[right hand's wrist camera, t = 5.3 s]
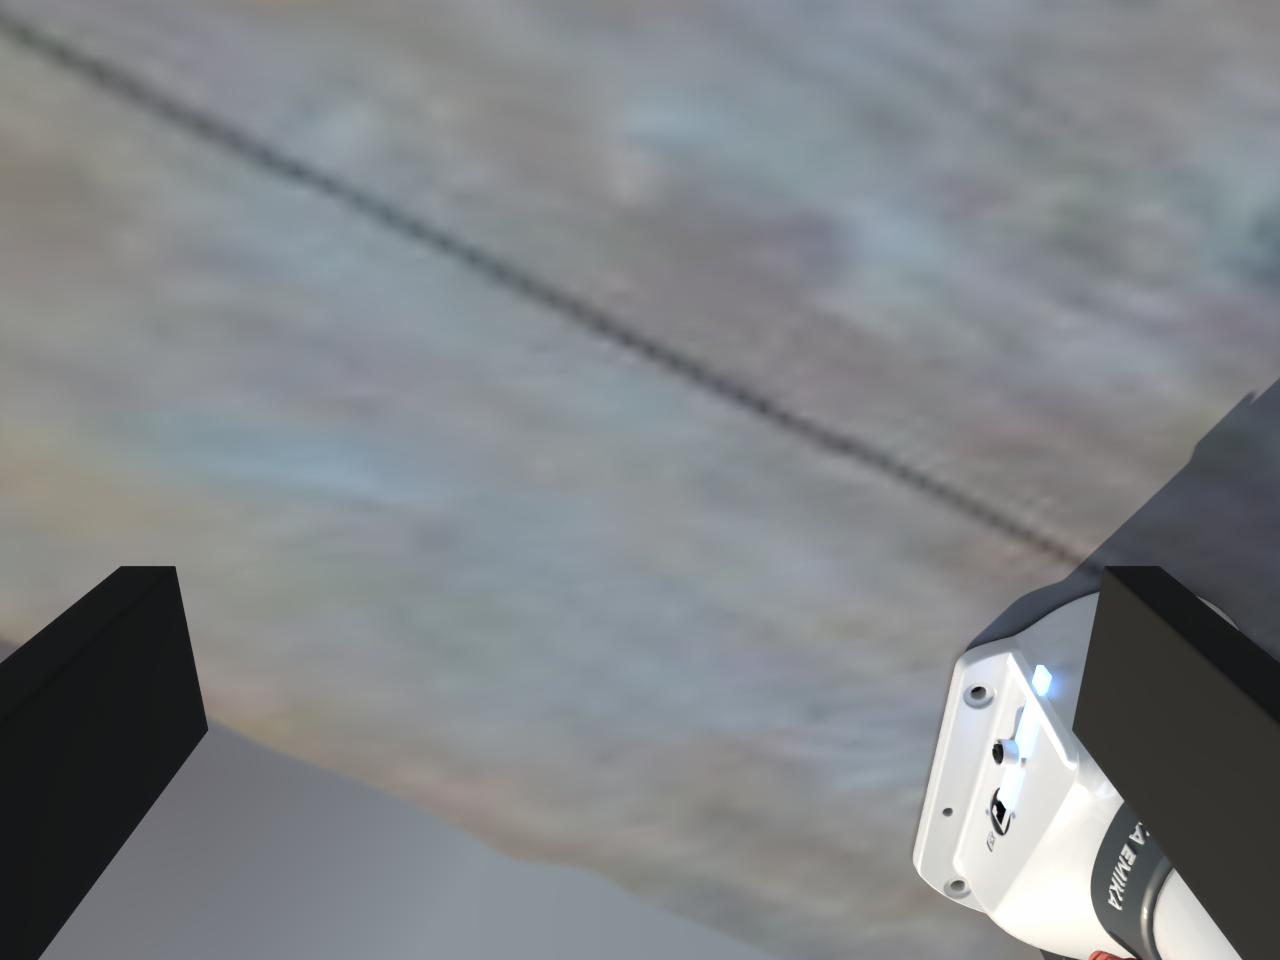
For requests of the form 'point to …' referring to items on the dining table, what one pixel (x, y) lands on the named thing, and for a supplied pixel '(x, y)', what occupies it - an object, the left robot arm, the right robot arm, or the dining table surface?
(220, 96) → the dining table surface
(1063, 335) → the dining table surface
